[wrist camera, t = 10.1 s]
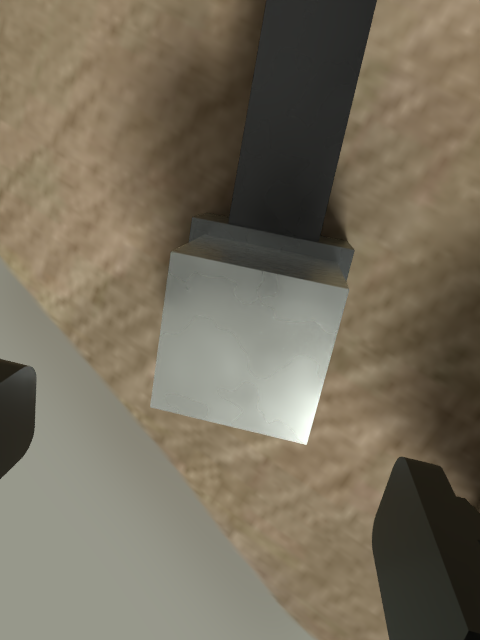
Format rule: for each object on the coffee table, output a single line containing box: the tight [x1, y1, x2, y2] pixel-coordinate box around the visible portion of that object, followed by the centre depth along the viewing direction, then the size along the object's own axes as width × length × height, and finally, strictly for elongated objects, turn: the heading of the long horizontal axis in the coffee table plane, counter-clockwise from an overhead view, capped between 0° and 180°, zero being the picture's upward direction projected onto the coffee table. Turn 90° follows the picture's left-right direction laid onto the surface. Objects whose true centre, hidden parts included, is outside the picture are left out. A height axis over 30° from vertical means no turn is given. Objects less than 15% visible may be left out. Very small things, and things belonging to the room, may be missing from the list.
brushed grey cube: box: [150, 234, 349, 445], centre depth 17 cm, size 6×6×5 cm
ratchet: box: [189, 0, 377, 281], centre depth 18 cm, size 18×7×6 cm, turn 170°
